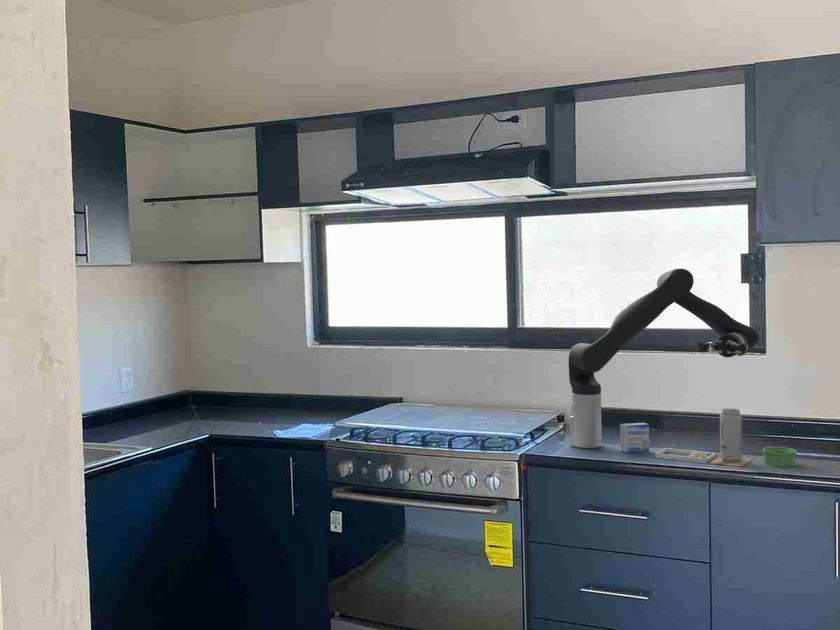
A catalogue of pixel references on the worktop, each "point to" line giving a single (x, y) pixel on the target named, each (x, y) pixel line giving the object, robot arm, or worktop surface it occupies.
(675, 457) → the parts tray
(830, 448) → the worktop surface
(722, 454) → the energy drink can
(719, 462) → the cork mat
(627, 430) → the medicine box
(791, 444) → the worktop surface
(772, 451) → the ramekin
